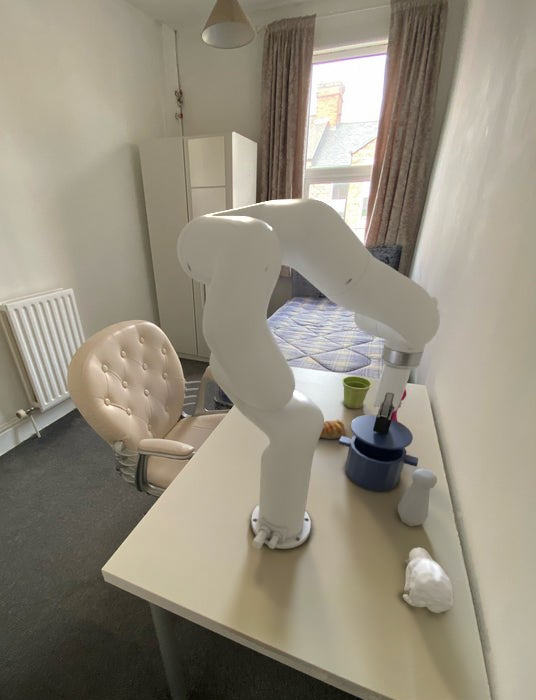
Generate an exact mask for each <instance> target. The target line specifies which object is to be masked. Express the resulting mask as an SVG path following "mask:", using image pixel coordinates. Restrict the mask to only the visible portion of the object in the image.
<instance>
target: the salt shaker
mask: <svg viewBox="0 0 536 700" xmlns="http://www.w3.org/2000/svg"><path fill="white" fill-rule="evenodd" d="M411 481H412V482H411V484H410V485H409V487H408V489H407V490H406V492H405V494H404V495H403V497H402V498H401V499H400V501H399V502H398V504H397V513H398V515H399V518H400V520H401V522H402V523H404V524H406V525H407V526H408V527H416V526H417V527H418V526H420V525H422V524H423V523H425V522H426V521H427V519H428V517H429V506H430V493H431V489H434V488H435V486H436V484H437V483H438V477H437V475H436V474H435V473H434V472H433V471H431V470H429V469H427V468H417V469H415V470H414V471H413V473H412V475H411Z"/></svg>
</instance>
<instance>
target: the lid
mask: <svg viewBox="0 0 536 700" xmlns="http://www.w3.org/2000/svg"><path fill="white" fill-rule="evenodd" d="M377 415H378V414H364V415H360V416H357V417H355V418H354V419H352V421H351V423H350V430H351V432H352V434H353V436H356V437H357V438H358V439H360V440H361V441H363V442H365V443H367V444H369V445H372V446H375V447H378V448H383V449H402V448H405V449H406V448H407V447H409V446H410V445H411V444H412V442H413V440H414V438H413V437H414V436H413V433H412V431H411V430H410V429H409V428H408V427H407V426H406V425H405V424H403V423H402V422H399V421H398V420H397V421H395V420H393V419H392V421H391V424H390V428H389V431H388V434H382V433H379V432H375V431H373V428H374V424H375V420H376V416H377Z"/></svg>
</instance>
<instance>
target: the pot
mask: <svg viewBox="0 0 536 700" xmlns="http://www.w3.org/2000/svg"><path fill="white" fill-rule="evenodd" d="M338 445H341V446H344V447H348V452H347V457H346V461H345V472H346V476H347V477H348V478H349V480H351V481H352V482H353V483H354V484H356V485H357V486H358V487H361V488H363V489H365V490H369V491H373V492H387V491H390V490H392V489H394V488H395V487H396V486H397V485H398V483H399V480H400V477H401V474H402V470H403V467H404V464H406V465H409V466H412V467H415V468H417V467H418V463H419V457H416V456H414V455H410V454H407V452H408V451H407V450H406V447H405V448H402V449H383V448H378V447H375V446H372V445H369V444H367V443H365V442H363V441H361V440H360V439H358V438H357V437H356V436H355V435H353V436H352V437H351V438H350V437H347V436H344V437H343V436H341V438H339V440H338Z"/></svg>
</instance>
